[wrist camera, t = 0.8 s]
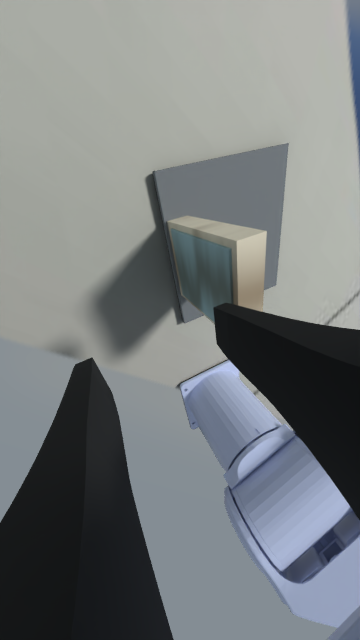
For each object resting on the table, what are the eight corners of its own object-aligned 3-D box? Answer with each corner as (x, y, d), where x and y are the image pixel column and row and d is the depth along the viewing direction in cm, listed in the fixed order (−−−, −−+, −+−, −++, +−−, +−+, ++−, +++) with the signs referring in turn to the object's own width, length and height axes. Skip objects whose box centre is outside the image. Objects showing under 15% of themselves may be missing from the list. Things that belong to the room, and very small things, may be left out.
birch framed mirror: (197, 288, 19) (261, 335, 13) (179, 295, 19) (236, 347, 13) (187, 215, 16) (266, 230, 10) (165, 221, 15) (233, 241, 9)
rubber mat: (273, 283, 24) (276, 285, 23) (182, 321, 21) (184, 323, 20) (284, 143, 17) (288, 143, 17) (152, 171, 14) (154, 171, 14)
